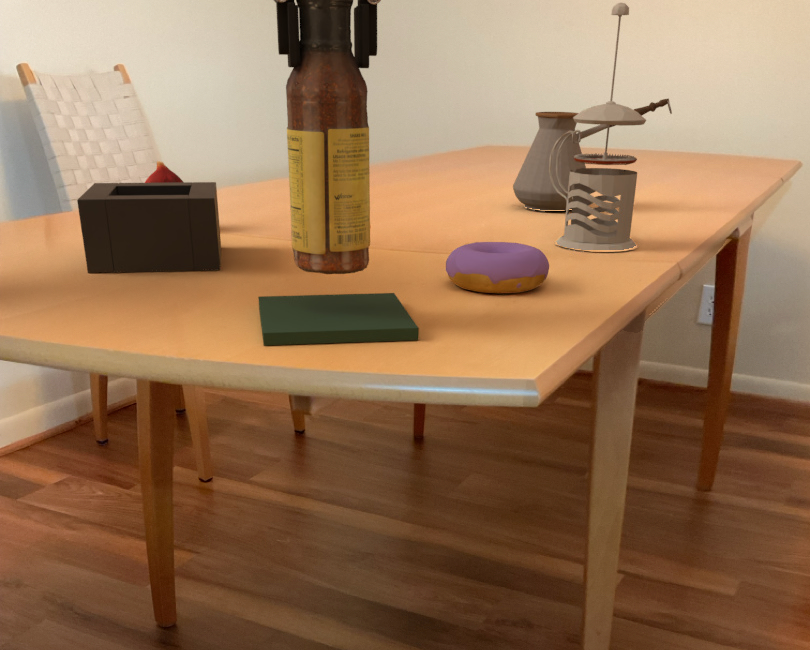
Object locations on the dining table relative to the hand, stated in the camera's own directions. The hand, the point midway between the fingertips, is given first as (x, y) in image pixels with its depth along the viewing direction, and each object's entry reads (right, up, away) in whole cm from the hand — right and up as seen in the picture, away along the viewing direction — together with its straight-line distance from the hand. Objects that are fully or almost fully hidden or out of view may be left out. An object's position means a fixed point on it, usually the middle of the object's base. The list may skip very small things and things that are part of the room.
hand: (327, 64), depth 67 cm
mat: (0, -17, +9) cm, 19 cm away
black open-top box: (-21, -5, +32) cm, 38 cm away
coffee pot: (+32, +14, +68) cm, 76 cm away
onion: (-24, +4, +48) cm, 54 cm away
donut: (+15, -10, +22) cm, 28 cm away
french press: (+28, +1, +43) cm, 51 cm away
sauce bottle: (-1, -13, +7) cm, 15 cm away
